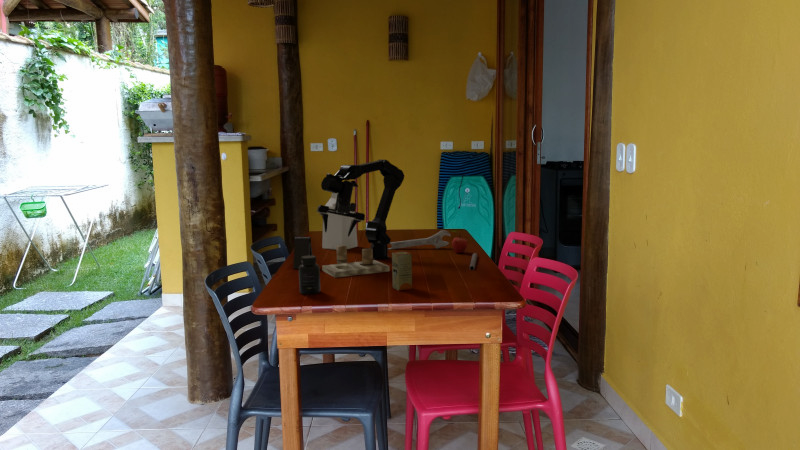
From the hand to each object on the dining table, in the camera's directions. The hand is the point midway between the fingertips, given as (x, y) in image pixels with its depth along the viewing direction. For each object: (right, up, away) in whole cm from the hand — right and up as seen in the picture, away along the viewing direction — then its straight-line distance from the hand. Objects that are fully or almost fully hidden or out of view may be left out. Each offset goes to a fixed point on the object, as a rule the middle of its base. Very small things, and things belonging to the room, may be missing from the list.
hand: (337, 234), depth 247 cm
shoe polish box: (+26, -18, -38) cm, 49 cm away
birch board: (+8, -14, -9) cm, 18 cm away
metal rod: (+55, -12, +3) cm, 56 cm away
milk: (-3, -7, +45) cm, 46 cm away
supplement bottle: (-5, -19, -42) cm, 46 cm away
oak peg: (+2, -13, +1) cm, 13 cm away
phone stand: (-13, -13, +1) cm, 19 cm away
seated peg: (+13, -14, -7) cm, 20 cm away
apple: (+51, -9, +26) cm, 58 cm away
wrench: (+33, -7, +39) cm, 52 cm away
